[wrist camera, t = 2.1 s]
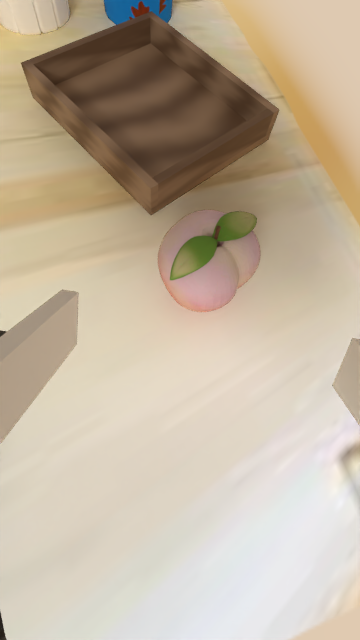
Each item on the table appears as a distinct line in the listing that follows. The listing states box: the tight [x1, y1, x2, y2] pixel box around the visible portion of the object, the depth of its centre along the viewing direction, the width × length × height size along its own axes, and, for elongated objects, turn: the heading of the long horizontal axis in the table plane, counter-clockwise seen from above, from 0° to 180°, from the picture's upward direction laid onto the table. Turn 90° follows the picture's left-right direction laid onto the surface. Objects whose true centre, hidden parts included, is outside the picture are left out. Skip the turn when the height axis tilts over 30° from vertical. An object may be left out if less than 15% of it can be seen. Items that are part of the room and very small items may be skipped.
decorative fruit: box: [158, 210, 260, 312], centre depth 28 cm, size 9×8×10 cm
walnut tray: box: [21, 11, 279, 215], centre depth 39 cm, size 24×20×4 cm
